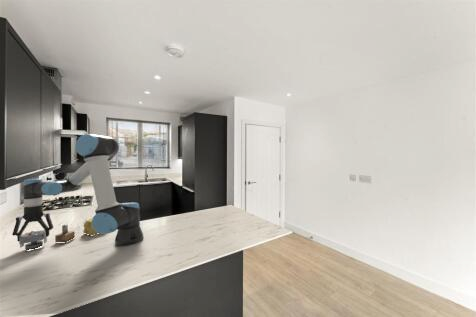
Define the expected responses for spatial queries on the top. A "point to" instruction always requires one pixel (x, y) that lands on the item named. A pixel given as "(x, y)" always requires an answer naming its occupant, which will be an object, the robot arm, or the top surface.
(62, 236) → the stand
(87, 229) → the cheese
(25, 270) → the top surface
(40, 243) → the hub
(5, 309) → the top surface
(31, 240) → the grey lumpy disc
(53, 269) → the top surface
